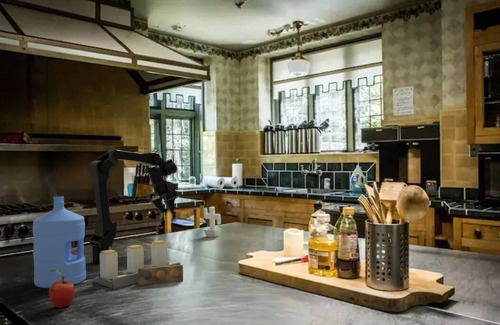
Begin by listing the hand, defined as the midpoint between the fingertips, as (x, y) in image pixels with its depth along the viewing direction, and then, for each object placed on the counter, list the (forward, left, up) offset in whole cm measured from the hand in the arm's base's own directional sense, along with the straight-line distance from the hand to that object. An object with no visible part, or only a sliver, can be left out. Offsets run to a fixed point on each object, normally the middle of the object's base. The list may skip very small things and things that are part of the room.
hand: (167, 213), depth 189 cm
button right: (-5, -37, -14) cm, 40 cm away
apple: (-32, -69, -16) cm, 78 cm away
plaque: (-5, -54, -16) cm, 56 cm away
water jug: (-37, -43, -16) cm, 59 cm away
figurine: (+23, +23, -16) cm, 36 cm away
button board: (-12, -44, -16) cm, 48 cm away
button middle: (-13, -43, -14) cm, 47 cm away
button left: (-21, -48, -14) cm, 55 cm away
